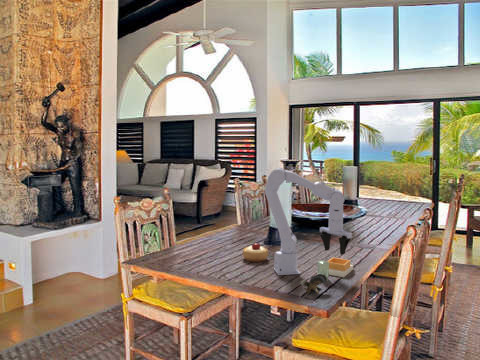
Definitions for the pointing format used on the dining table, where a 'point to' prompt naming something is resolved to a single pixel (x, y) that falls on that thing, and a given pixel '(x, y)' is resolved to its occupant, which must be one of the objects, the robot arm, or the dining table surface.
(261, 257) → the pastry
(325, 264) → the green can
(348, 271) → the orange and cream box
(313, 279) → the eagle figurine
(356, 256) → the dining table surface
